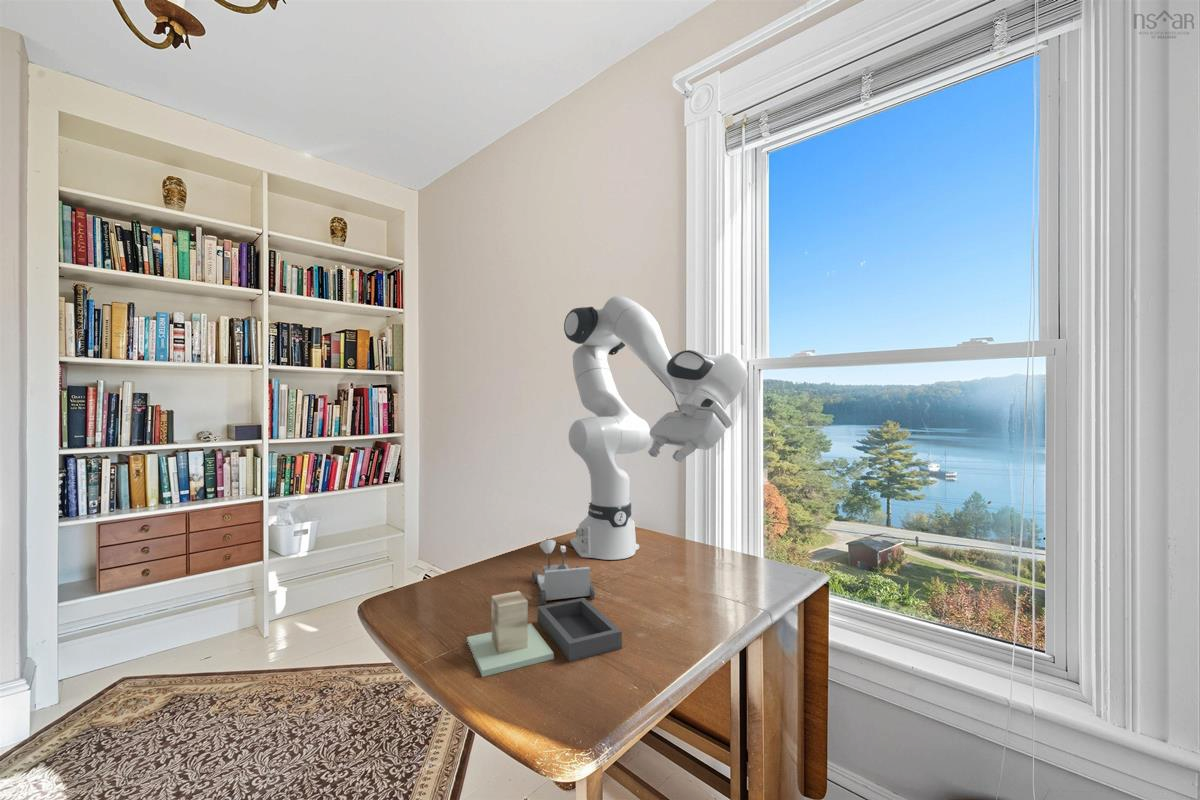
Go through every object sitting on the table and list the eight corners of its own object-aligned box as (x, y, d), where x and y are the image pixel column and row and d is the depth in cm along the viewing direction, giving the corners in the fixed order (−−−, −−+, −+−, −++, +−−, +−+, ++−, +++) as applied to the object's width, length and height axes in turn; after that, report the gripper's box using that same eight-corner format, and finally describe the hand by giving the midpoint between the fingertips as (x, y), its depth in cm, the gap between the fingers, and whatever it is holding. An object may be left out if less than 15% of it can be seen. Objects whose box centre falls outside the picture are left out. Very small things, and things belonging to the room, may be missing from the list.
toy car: (530, 537, 119) (576, 534, 122) (530, 577, 119) (576, 573, 122) (542, 561, 102) (595, 556, 105) (542, 607, 102) (594, 601, 105)
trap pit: (537, 622, 94) (537, 606, 94) (583, 612, 99) (583, 597, 99) (569, 661, 80) (569, 643, 80) (621, 648, 85) (621, 631, 85)
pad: (467, 642, 86) (467, 637, 86) (531, 628, 92) (531, 623, 92) (482, 677, 76) (482, 670, 76) (553, 658, 81) (553, 653, 81)
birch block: (491, 641, 85) (491, 595, 85) (518, 635, 87) (519, 590, 87) (498, 654, 80) (498, 606, 80) (527, 647, 83) (527, 601, 83)
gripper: (665, 401, 117) (630, 443, 112) (722, 401, 98) (682, 451, 94) (680, 419, 119) (646, 461, 114) (738, 423, 100) (701, 473, 96)
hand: (663, 457), depth 104 cm, fingers open, 8 cm apart
